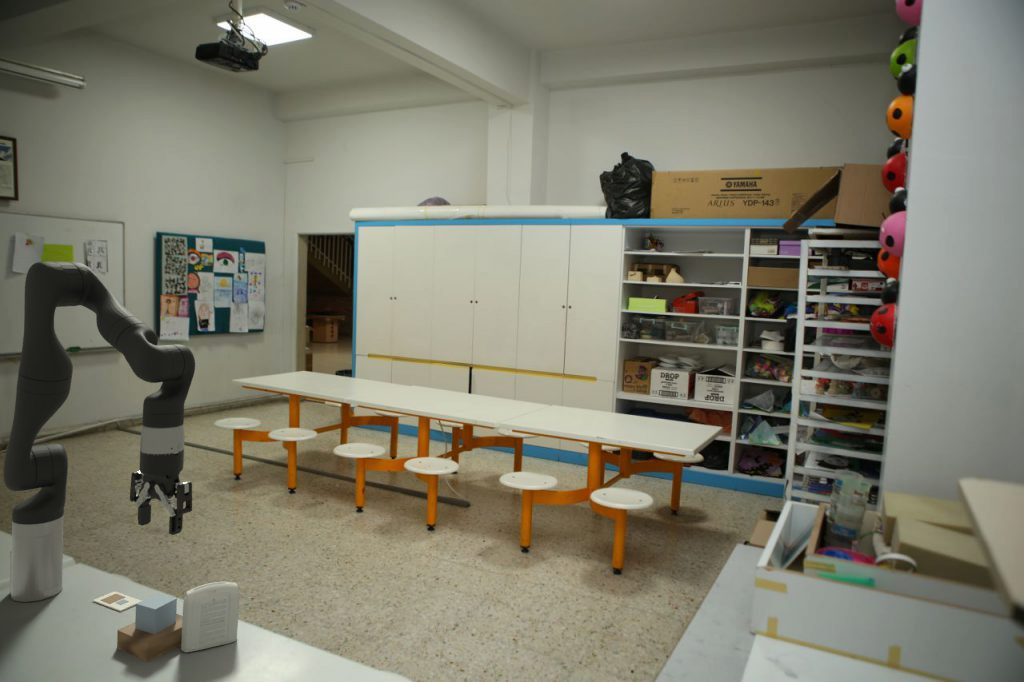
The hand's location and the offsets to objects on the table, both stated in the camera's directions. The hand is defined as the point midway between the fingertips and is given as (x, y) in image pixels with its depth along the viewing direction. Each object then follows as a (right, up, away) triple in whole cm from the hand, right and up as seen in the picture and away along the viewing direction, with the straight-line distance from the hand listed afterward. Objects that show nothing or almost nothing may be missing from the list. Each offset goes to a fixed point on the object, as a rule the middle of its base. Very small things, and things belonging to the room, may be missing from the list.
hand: (159, 528), depth 126 cm
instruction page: (-18, -21, +16) cm, 32 cm away
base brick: (-2, -23, +2) cm, 24 cm away
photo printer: (+9, -24, +3) cm, 26 cm away
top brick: (-1, -19, +1) cm, 20 cm away
